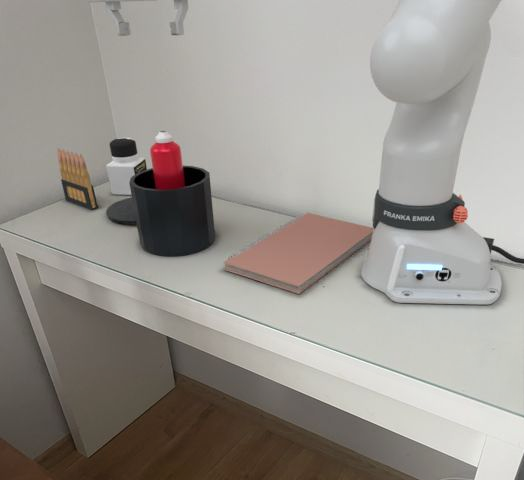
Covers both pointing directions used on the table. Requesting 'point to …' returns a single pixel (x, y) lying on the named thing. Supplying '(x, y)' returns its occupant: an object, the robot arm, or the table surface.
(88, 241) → the table surface
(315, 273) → the notebook
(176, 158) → the bottle
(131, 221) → the bin lid
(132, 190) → the trash bin
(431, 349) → the table surface
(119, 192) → the medicine bottle
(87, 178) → the ammunition clip
